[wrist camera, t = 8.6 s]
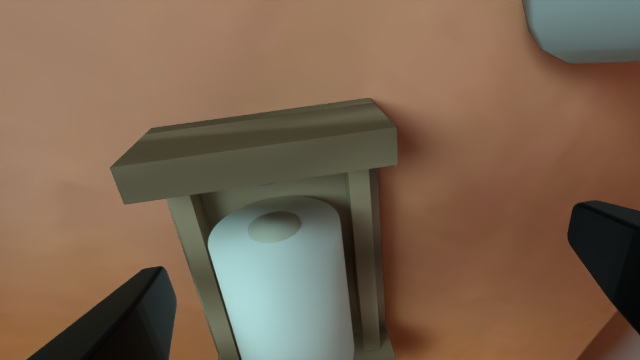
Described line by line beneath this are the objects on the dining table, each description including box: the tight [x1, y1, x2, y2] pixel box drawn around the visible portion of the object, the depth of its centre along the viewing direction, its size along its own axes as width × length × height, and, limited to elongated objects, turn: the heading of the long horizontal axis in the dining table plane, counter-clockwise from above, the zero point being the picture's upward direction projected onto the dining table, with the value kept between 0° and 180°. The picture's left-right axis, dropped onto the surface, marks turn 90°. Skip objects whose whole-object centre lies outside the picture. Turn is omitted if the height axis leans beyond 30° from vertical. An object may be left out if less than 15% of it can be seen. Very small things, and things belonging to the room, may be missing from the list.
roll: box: [208, 196, 354, 360], centre depth 19 cm, size 8×6×6 cm
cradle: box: [110, 98, 398, 360], centre depth 20 cm, size 17×11×5 cm, turn 6°
